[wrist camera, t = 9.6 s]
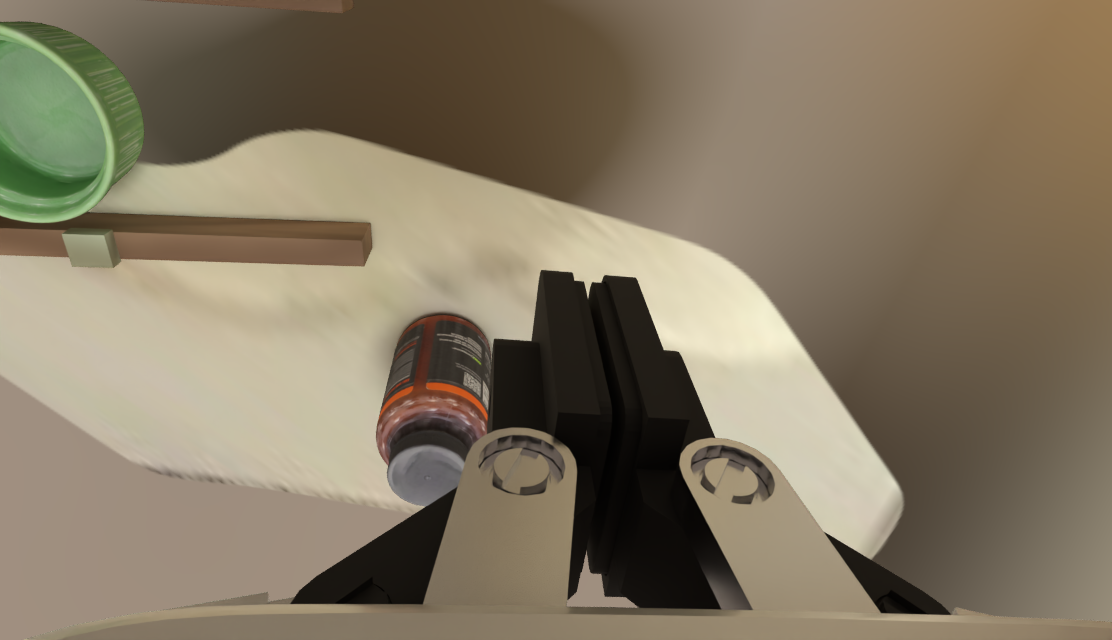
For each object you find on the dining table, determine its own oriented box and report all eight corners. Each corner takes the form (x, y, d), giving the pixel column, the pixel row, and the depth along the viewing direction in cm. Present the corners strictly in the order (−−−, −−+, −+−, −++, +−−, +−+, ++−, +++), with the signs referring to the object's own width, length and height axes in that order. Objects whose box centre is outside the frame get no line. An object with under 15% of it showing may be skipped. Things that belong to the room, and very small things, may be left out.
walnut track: (-126, -65, 29) (-195, -65, 26) (350, -31, 31) (334, -28, 28) (-10, 237, 36) (-54, 262, 33) (372, 250, 38) (361, 275, 35)
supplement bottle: (389, 380, 43) (355, 512, 33) (405, 301, 40) (372, 419, 30) (480, 397, 44) (473, 529, 34) (502, 322, 41) (501, 441, 31)
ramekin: (69, -24, 31) (7, -19, 27) (195, 154, 35) (156, 180, 31) (-85, 56, 32) (-165, 72, 28) (55, 218, 36) (2, 251, 32)
